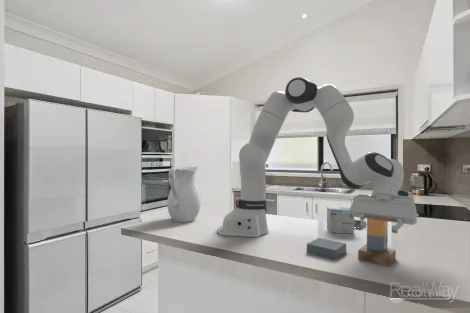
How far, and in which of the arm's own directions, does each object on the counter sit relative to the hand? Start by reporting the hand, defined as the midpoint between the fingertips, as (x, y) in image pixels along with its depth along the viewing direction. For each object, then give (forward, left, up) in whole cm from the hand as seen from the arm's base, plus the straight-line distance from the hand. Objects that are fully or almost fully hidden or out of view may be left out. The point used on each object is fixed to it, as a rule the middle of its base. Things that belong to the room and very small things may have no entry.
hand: (378, 229), depth 91 cm
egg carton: (+13, +45, -10) cm, 48 cm away
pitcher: (-70, +54, -10) cm, 90 cm away
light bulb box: (+3, +34, -10) cm, 36 cm away
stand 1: (-15, +6, -10) cm, 19 cm away
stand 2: (-1, -1, -10) cm, 10 cm away
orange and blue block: (-1, -1, -7) cm, 7 cm away
